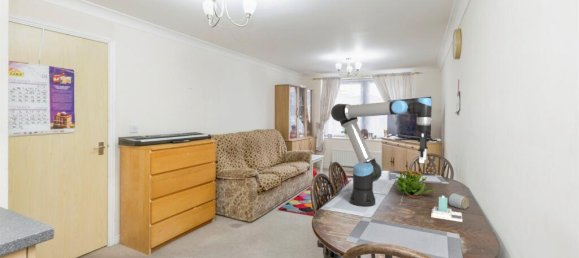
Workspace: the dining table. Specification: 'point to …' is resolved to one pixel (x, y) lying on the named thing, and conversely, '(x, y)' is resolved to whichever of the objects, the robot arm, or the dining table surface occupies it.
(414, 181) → the potted flower
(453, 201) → the ceramic mug
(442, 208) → the block
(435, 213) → the outlet plate
